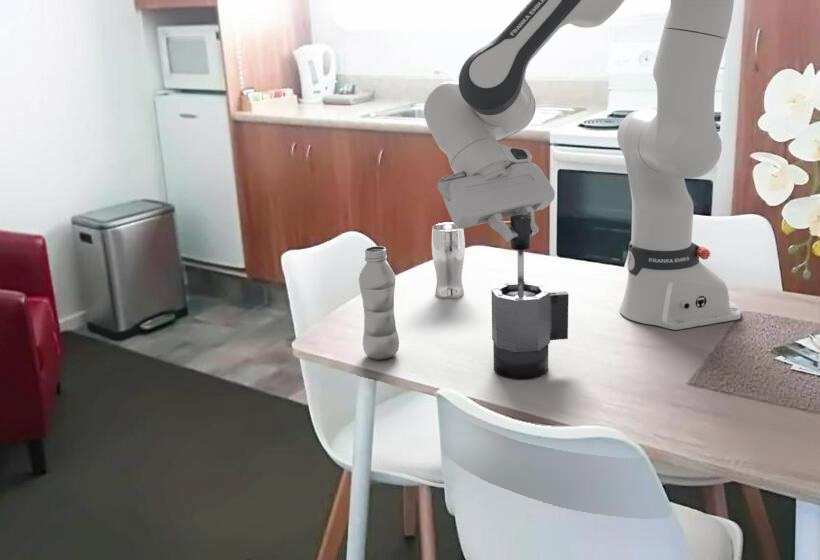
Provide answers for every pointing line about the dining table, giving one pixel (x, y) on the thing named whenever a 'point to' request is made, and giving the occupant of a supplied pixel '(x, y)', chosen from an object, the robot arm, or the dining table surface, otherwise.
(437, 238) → the beer glass
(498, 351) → the press carafe
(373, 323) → the plastic bottle
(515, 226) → the plunger
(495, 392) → the dining table surface
